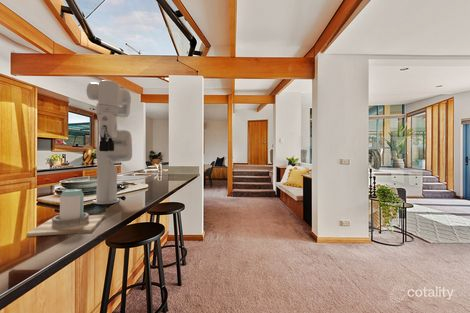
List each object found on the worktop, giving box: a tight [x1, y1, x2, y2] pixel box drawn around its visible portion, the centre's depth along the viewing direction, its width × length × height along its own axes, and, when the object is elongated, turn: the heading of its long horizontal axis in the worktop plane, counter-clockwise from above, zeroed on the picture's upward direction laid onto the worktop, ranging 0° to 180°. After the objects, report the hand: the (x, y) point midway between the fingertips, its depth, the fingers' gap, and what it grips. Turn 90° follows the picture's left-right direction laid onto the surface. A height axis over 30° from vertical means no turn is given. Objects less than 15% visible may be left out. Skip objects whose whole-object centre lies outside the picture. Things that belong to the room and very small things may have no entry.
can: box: [59, 188, 85, 220], centre depth 82 cm, size 7×7×12 cm
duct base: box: [26, 212, 106, 237], centre depth 82 cm, size 18×18×4 cm
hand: (107, 151), depth 95 cm, fingers open, 9 cm apart
